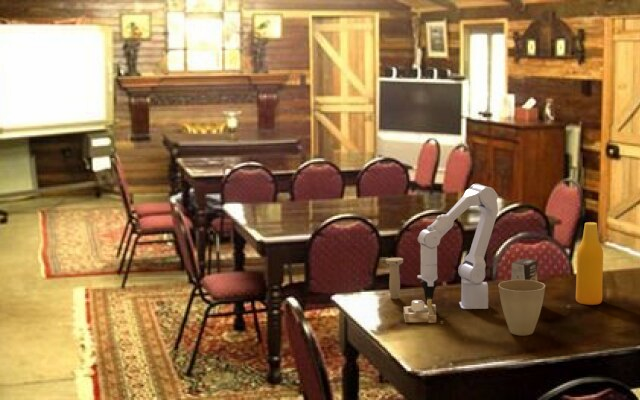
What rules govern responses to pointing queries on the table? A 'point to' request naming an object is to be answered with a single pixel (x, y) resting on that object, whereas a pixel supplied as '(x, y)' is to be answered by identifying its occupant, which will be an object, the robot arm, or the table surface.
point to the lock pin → (429, 306)
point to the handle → (394, 276)
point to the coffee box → (524, 270)
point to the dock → (420, 315)
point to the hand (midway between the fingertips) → (428, 301)
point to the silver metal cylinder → (417, 306)
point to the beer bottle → (589, 267)
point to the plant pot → (521, 304)
